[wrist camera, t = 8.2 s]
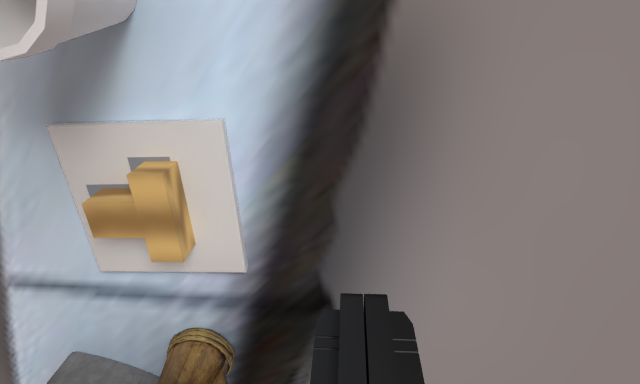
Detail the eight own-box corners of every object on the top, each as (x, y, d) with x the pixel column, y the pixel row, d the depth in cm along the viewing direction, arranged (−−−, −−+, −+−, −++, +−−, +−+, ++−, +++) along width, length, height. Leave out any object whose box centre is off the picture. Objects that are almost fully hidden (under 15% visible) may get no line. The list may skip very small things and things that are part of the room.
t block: (93, 162, 39) (71, 175, 36) (177, 161, 38) (161, 174, 35) (120, 243, 43) (102, 261, 40) (195, 243, 43) (183, 262, 40)
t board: (53, 123, 39) (46, 125, 38) (224, 118, 37) (221, 121, 36) (105, 266, 46) (100, 271, 45) (248, 267, 45) (246, 272, 44)
